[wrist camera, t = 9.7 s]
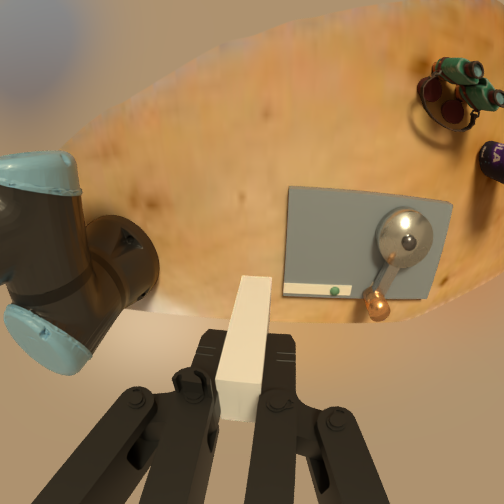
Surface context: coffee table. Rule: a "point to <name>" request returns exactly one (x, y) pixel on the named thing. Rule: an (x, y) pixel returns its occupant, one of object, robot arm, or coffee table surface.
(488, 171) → the beverage can
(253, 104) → the coffee table surface
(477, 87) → the binoculars
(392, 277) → the cam lever
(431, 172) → the coffee table surface
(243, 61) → the coffee table surface
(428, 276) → the level board
